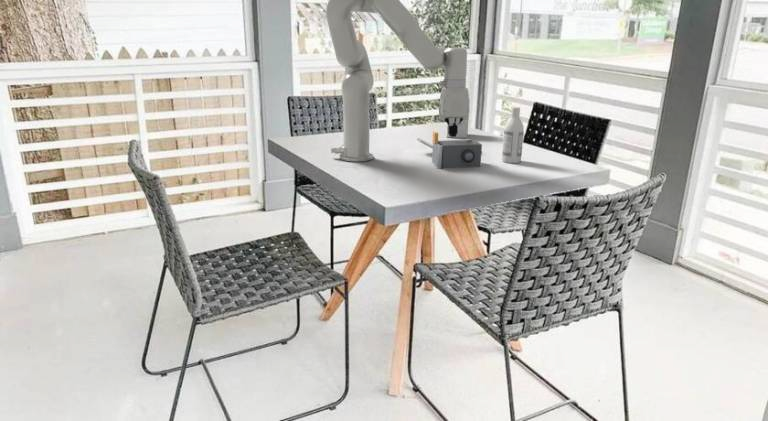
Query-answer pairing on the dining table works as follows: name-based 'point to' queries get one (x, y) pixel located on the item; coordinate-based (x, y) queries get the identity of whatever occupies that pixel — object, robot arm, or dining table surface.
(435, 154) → the side door
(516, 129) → the bath foam
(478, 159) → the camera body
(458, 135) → the supplement box
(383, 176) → the dining table surface
